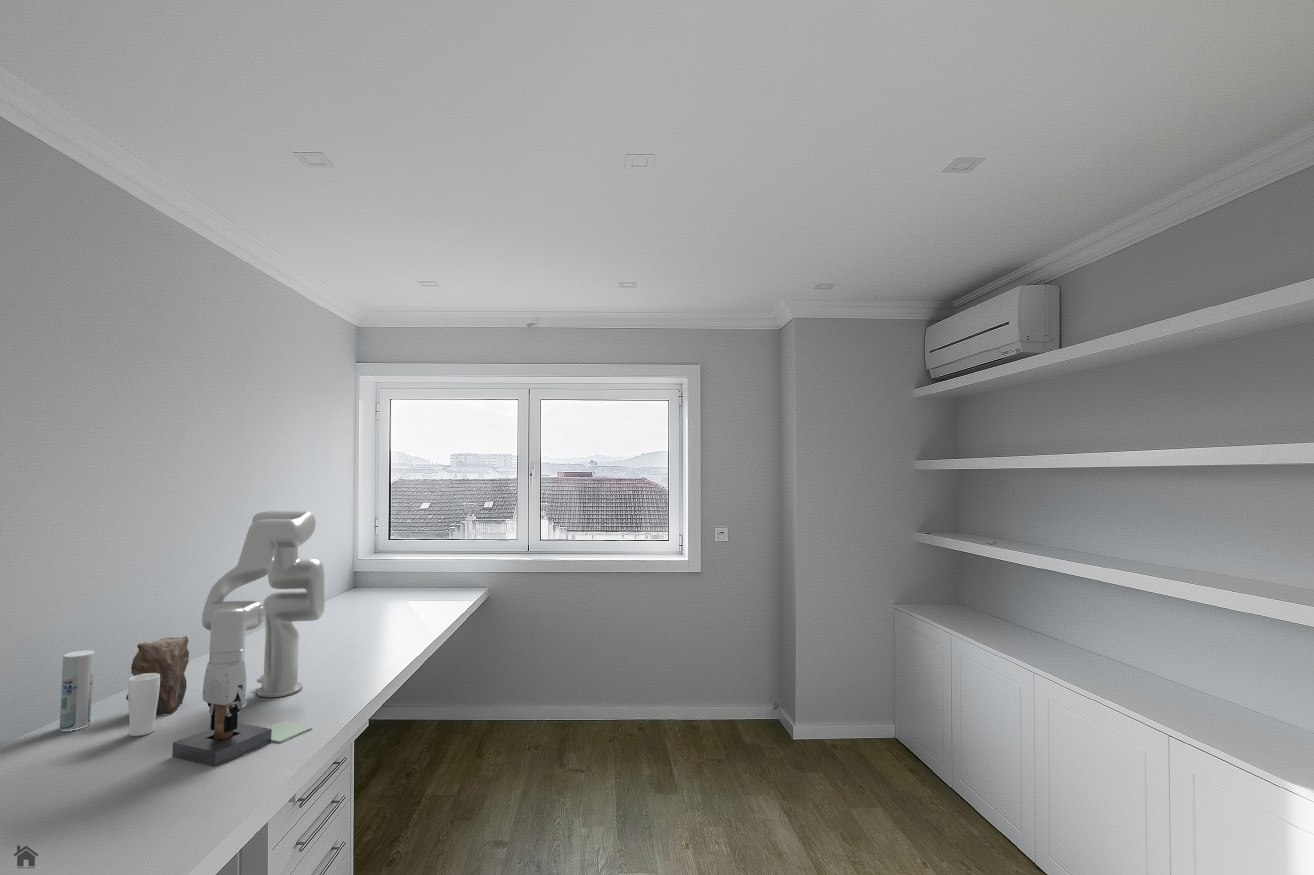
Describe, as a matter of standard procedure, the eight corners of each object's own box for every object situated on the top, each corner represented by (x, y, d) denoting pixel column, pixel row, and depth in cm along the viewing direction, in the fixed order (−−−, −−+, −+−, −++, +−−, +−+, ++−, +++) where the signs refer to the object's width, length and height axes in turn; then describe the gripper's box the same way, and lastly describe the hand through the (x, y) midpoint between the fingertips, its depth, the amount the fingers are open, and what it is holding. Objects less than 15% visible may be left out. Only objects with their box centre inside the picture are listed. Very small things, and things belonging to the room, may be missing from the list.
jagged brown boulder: (123, 717, 187) (127, 646, 188) (149, 701, 199) (153, 635, 200) (172, 715, 189) (175, 644, 190) (195, 699, 201) (198, 634, 202)
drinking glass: (122, 740, 171) (125, 681, 172) (129, 730, 177) (132, 674, 178) (154, 735, 174) (157, 678, 175) (160, 726, 180) (162, 671, 181)
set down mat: (249, 737, 174) (249, 735, 174) (282, 723, 183) (282, 721, 183) (279, 743, 170) (279, 741, 170) (312, 729, 179) (312, 727, 179)
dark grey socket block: (172, 757, 161) (172, 742, 162) (230, 734, 175) (230, 721, 176) (215, 766, 156) (215, 751, 156) (271, 742, 170) (271, 729, 170)
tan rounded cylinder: (209, 747, 165) (211, 699, 165) (224, 741, 168) (227, 694, 169) (220, 750, 163) (223, 701, 164) (236, 744, 167) (238, 696, 168)
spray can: (53, 729, 177) (57, 655, 178) (81, 721, 183) (85, 649, 184) (67, 733, 175) (71, 657, 176) (95, 725, 181) (100, 651, 182)
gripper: (189, 657, 166) (186, 730, 165) (236, 664, 161) (233, 740, 160) (218, 649, 173) (215, 719, 172) (264, 656, 168) (261, 728, 167)
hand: (223, 728), depth 166 cm, fingers closed on tan rounded cylinder, 4 cm apart
